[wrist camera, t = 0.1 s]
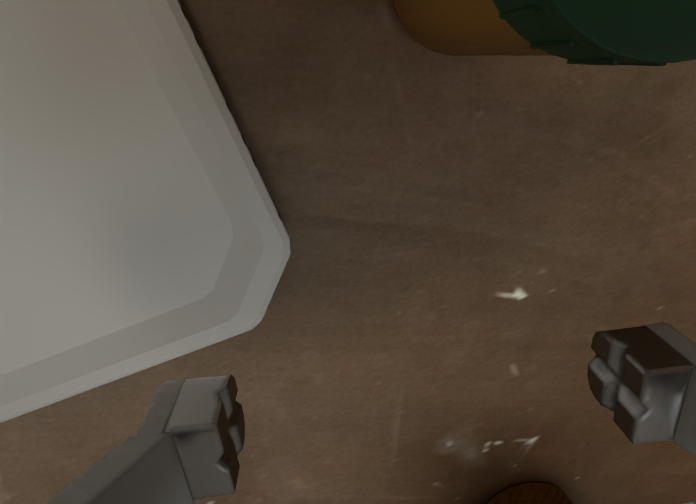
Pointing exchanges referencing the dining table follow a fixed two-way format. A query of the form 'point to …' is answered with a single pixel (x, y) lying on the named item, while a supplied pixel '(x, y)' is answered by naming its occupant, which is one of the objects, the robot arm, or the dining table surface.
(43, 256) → the plate
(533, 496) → the disposable coffee cup
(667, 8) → the lid
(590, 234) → the dining table surface
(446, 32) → the jar
